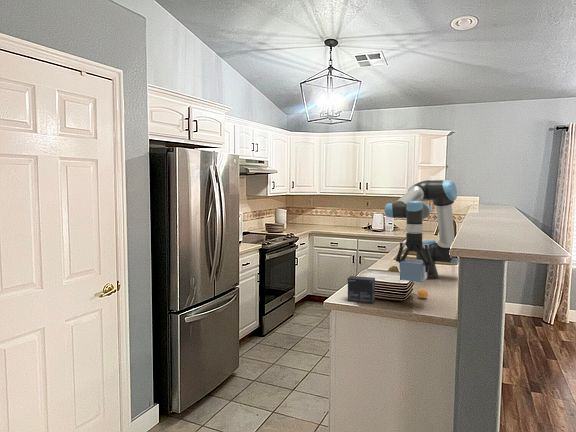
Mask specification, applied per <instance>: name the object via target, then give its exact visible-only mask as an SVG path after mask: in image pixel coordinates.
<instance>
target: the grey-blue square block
mask: <svg viewBox="0 0 576 432" xmlns="http://www.w3.org/2000/svg"><path fill="white" fill-rule="evenodd" d="M424 265H425V264H424V262H423V260H416V258H405V260H403V261H401V262H400V263H399V273H400V280H402V281H407V282H416V283H422V282H423V281H425V280H428V279H427V278H426V279H423V266H424Z"/></svg>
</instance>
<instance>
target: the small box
mask: <svg viewBox="0 0 576 432" xmlns="http://www.w3.org/2000/svg"><path fill="white" fill-rule="evenodd" d="M375 300H376V278H375V277H372V276H371V277H370V276H368V277H367V276H357V275H350V276H349V277H347V302H353V303H354V302H355V303H363V304H364V303H365V304H373V303H374V302H375Z"/></svg>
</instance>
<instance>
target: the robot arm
mask: <svg viewBox="0 0 576 432" xmlns="http://www.w3.org/2000/svg"><path fill="white" fill-rule="evenodd" d="M457 197H458V190H457V185H456V183H455V182H454V181H453V180H449V179H448V180H447V179H438V180H437V179H436V180H435V179H433V180H428V179H427V180H422V181H419V182H417V183H415V184H413V185H412V186H410V187H409V188H408V189H407V192H406V193H405V194H403V196H401V197H400V198H398V200H396V201H394V203H392V202H391V203H386V204H385V206H384V215H385V217H387V218H390V219H391V218H392V219H406V235H405V236H406V237H405V238H406V239H405V240H406V241H405V242H403V241H402V242H400V243H399V250H398V252H397V255H396V258H395V261H396V262H397V263H399V264H400V262H401V261H403V260H405V259H407V256H408V255H409V253H411V252H412V253H413V252H414V253H415V256H416V257H415V259H416V260H423V262H424V264H425V265H424V266H423V279H425V280H434V279H435V280H436V279H438V278H439V273H438V269H437V266H436V262H439V263H448V264H457V263H458V262H459V261H458V259H457V258H450V255H449V250H450V246H451V244H452V242H453V240H454V238H455V226H454V218H453V217H454V216H453V205H454V203H455V201H456V200H457ZM423 201H432V204H433V206H435V209H436V217H437V227H438V235H439V239H438V241H436V239H429V240H428V239H427V240H423V220H424V219H426V218H428V217H429V216H430V214H431V211H432V209H431V207H430V206H429V205H428V204H426V203H424V202H423ZM405 246H406V250H405V252H404V253H403V251H404V247H405ZM426 278H427V279H426Z"/></svg>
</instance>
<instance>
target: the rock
mask: <svg viewBox="0 0 576 432" xmlns="http://www.w3.org/2000/svg"><path fill="white" fill-rule="evenodd" d="M387 271H391V272H399V273H400V269H399V267H398V266H397V265H392V266H390V267H388V270H387Z"/></svg>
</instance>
